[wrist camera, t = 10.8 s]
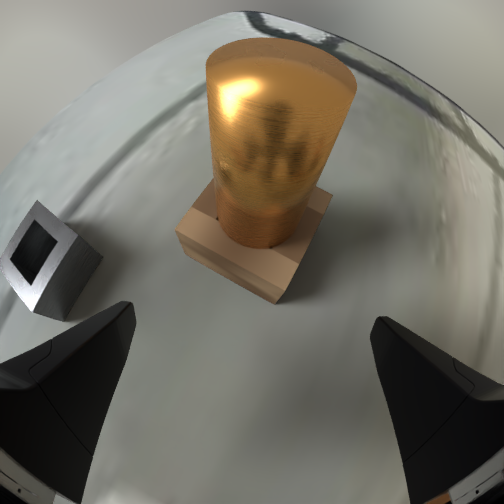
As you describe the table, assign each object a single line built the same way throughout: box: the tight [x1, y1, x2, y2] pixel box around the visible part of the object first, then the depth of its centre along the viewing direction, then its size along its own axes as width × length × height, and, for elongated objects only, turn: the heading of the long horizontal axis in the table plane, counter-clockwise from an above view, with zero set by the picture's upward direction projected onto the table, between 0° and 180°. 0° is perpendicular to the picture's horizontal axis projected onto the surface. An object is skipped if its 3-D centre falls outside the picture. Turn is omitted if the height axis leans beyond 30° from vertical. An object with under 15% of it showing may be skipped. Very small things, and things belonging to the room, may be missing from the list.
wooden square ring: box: [175, 178, 333, 304], centre depth 18 cm, size 7×7×4 cm
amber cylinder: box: [206, 38, 357, 249], centre depth 13 cm, size 5×5×13 cm
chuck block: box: [0, 200, 103, 322], centre depth 16 cm, size 6×6×4 cm
